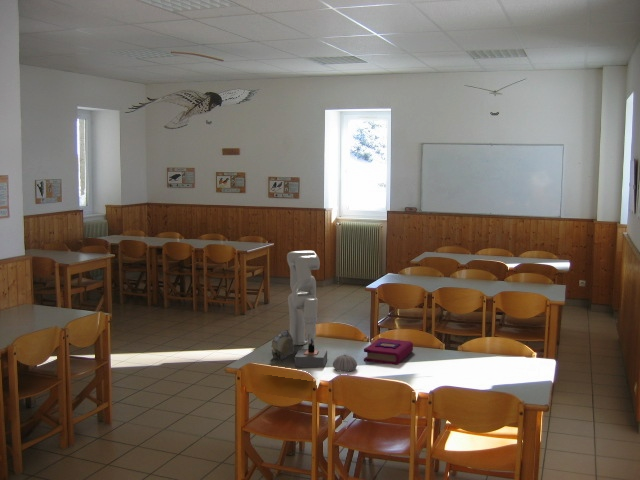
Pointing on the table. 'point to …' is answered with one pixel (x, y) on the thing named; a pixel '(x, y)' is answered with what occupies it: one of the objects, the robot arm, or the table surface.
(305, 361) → the button box
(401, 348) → the book
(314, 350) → the button
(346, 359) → the sea urchin shell
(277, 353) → the fossil rock
